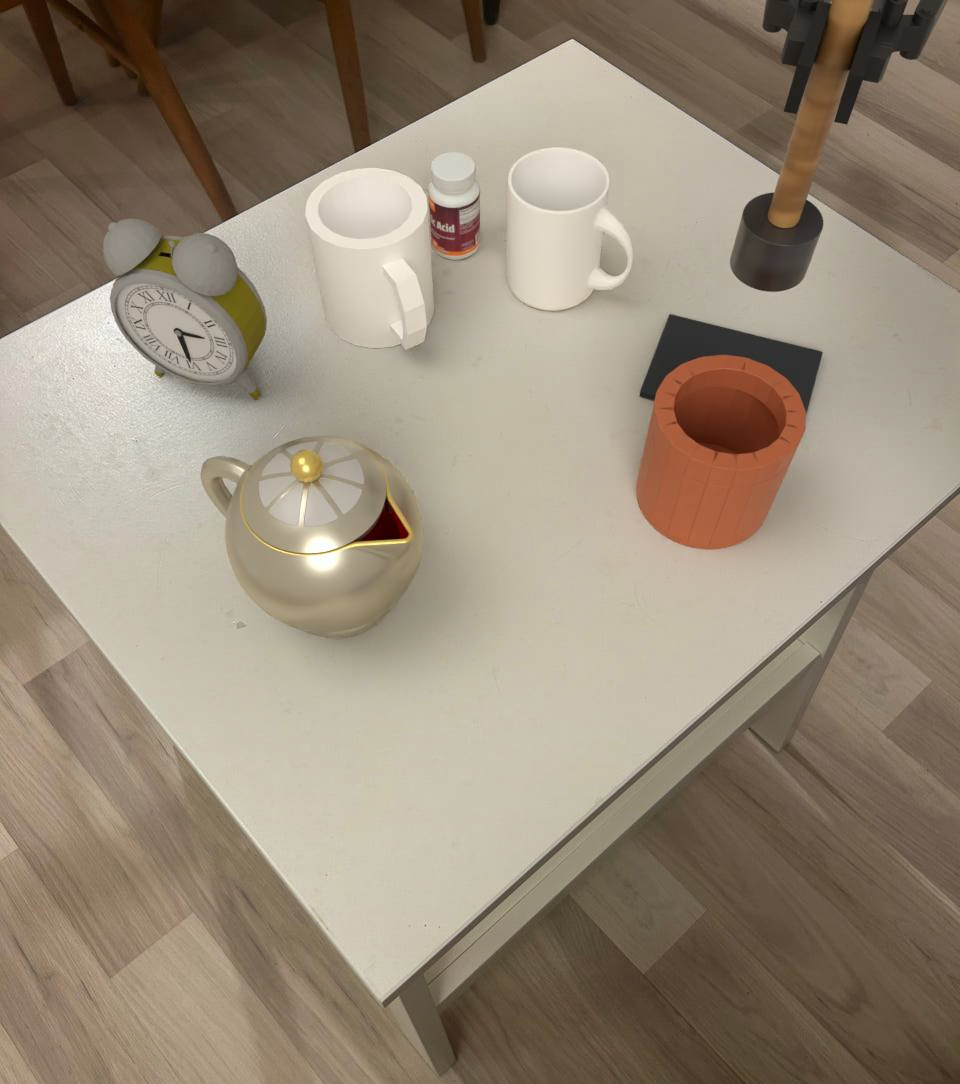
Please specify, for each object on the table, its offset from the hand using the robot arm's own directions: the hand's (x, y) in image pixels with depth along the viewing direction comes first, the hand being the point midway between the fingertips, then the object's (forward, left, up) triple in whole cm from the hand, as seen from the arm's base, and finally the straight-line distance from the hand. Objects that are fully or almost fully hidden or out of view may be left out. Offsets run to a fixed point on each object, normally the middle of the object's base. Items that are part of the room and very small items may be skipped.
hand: (822, 94), depth 52 cm
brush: (+4, -4, -16) cm, 17 cm away
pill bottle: (+32, +9, -30) cm, 45 cm away
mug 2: (+22, +2, -30) cm, 37 cm away
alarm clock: (+26, +35, -30) cm, 53 cm away
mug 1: (+26, +19, -30) cm, 44 cm away
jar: (-4, +3, -30) cm, 30 cm away
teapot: (+1, +34, -30) cm, 46 cm away
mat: (+6, -6, -30) cm, 31 cm away
